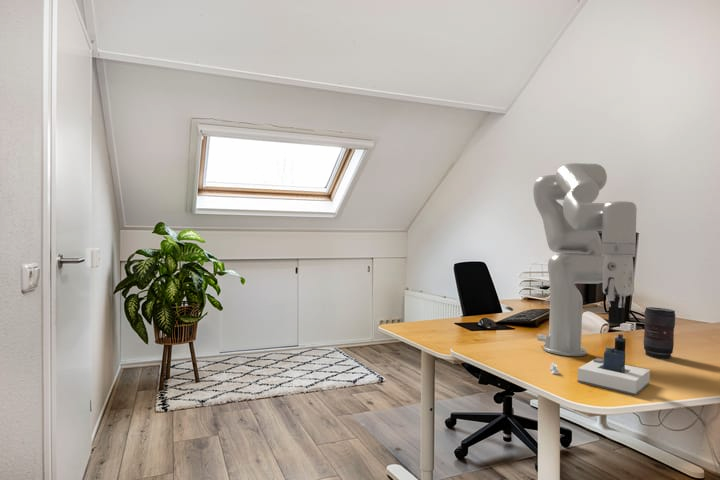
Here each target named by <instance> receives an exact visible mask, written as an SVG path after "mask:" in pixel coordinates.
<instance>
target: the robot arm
mask: <svg viewBox="0 0 720 480" xmlns="http://www.w3.org/2000/svg"><path fill="white" fill-rule="evenodd" d="M607 177H608V176H607V171H606V169H605V168H604V167H603V166H602V165H601V164H598V163H578V162H577V163H575V162H574V163H573V162H571V163H567V164H564V165H562V166H560V167H559V168H558V169H557V170H556V172H555V174H547V175H543V176H540V177H538V178H537V179H536V180H535V182H534V184H533V189H532V190H533V191H532V193H533V201H534V204H535V206H536V209H537V211H538V213H539V214H540V217H541V220H542V224H543V228H544V232H545V238H546V242H547V246H548V248H549V250H550V251H551V252H554V253H556V254H553V255H552V256H551V257H550V258H549V259H548V262H547V271H548V272H547V273H548V278H549V322H548V323H549V325H548V327H549V328H548V334H547V335H544V334H541V333H540V334H539V333H538V334H537V336H536V338H537V342H544V343H545V344H544V345H543V350H544V351H546V352H547V353H549V354H550V353H551V354H554V355H558V356H564V357H582V356H586V355H587V349H585V348H584V347H582V332H583V331H582V329H583V327H582V326H583V324H582V323H583V302H584V301H583V296H582V294H581V292H580V290H579V289H578V288H577V285H576V284H588V285H589V284H601V283H602V293H603V294H604V295H605V296H607V301H608V320H607V321H608V323H610V324H618V325H619V324H620V325H622V324H624V323H625V312H626V311H625V309H626V307H625V306H626V298H627V297H628V296H631V295H633V294H634V293H635V274H634V271H635V270H634V258H635V257H636V247H637V246H636V244H637V243H636V241H637V240H636V239H637V213H638V212H637V209H638V208H637V205H636V203H634V202H632V201H625V200H624V201H622V200H621V201H620V200H619V201H609V202H606V203H604V202H594V201H595V200H596V199H597V198H598V197H599V195H600V191H601V190H602V189H603V188H605V185H606V183H607V181H608V180H607V179H608V178H607ZM558 201H563V202H562V204H561V203H560V202H558ZM599 232H601V237H600V233H599Z"/></svg>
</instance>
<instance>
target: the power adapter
mask: <svg viewBox="0 0 720 480" xmlns="http://www.w3.org/2000/svg"><path fill="white" fill-rule="evenodd" d="M558 367H559V366H558V365H557V364H555V363H554V362H551V364H550V366H549V368H550V369H549V371H550V373H551V375H555V374H556V375H557V374H558V375H559V374H560V369H559V368H558Z"/></svg>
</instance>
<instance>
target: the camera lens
mask: <svg viewBox="0 0 720 480" xmlns="http://www.w3.org/2000/svg"><path fill="white" fill-rule="evenodd" d="M643 318H644V319H643V323H644V334H643V349H644V351H645V352H644V353H645V355H646V356H647V357H650V358H654V359H660V360H661V359H662V360H666V359H667V360H669V359H671V358H672V354H673V353H674V342H675V341H674V340H675V339H674V338H675V337H674V336H675V333H674V332H675V326H676V325H675V324H676V311H675V310H673V309H670V308H662V307H650V306H648V307H647V306H646V307H645V310H644V317H643Z"/></svg>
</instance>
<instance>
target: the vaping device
mask: <svg viewBox="0 0 720 480" xmlns="http://www.w3.org/2000/svg"><path fill="white" fill-rule="evenodd" d="M623 336H624V334H621V333H620V334H617V336H616V337H614V347H612V346H605V350H604V352H603V358H602V359H603V369H605V370H610V371H615V372H619V373H625V365H626V344H627V343H626V338H624V337H623Z"/></svg>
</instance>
